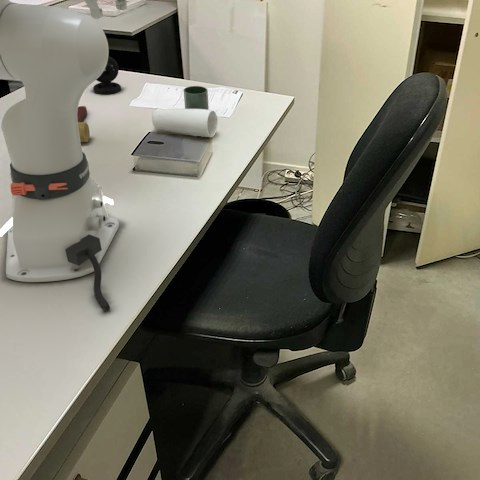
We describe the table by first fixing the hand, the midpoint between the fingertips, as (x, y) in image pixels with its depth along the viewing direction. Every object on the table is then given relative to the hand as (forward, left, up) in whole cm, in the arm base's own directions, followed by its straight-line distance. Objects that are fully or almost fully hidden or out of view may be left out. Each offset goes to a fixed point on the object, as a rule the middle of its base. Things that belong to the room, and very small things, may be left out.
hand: (110, 13), depth 116 cm
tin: (+12, -17, -29) cm, 36 cm away
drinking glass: (+7, -6, -27) cm, 28 cm away
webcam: (+35, +8, -29) cm, 47 cm away
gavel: (+9, +13, -29) cm, 34 cm away
